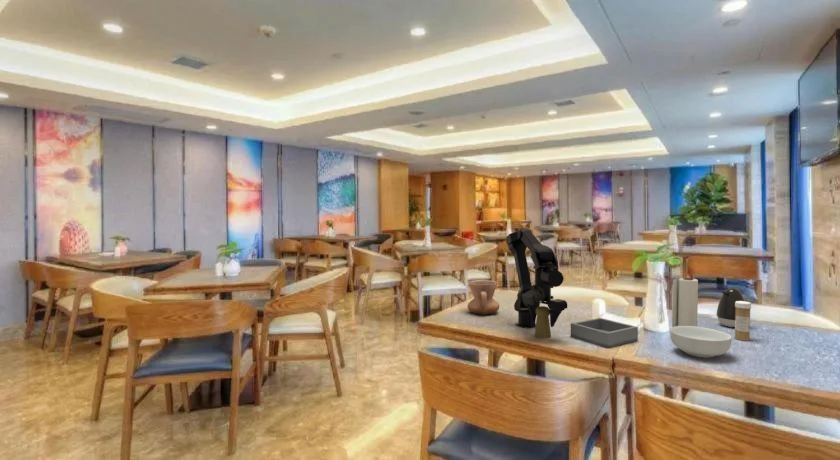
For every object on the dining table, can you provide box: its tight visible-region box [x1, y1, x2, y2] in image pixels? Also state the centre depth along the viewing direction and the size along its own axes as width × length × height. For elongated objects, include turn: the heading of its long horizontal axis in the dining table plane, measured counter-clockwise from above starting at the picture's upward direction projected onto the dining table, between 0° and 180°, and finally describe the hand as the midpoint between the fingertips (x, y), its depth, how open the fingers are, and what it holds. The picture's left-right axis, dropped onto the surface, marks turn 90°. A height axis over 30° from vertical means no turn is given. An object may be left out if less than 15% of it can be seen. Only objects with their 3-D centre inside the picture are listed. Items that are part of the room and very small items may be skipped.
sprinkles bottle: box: [734, 301, 752, 342], centre depth 158 cm, size 5×5×13 cm
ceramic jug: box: [467, 279, 500, 315], centre depth 203 cm, size 18×14×14 cm
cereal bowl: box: [669, 326, 732, 359], centre depth 143 cm, size 17×17×7 cm
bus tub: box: [570, 317, 639, 349], centre depth 161 cm, size 16×16×5 cm
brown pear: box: [534, 305, 552, 339], centre depth 165 cm, size 6×6×11 cm
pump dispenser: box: [716, 287, 745, 328], centre depth 176 cm, size 10×10×15 cm
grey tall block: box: [671, 277, 699, 328], centre depth 161 cm, size 7×6×21 cm
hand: (542, 323), depth 165 cm, fingers open, 9 cm apart
